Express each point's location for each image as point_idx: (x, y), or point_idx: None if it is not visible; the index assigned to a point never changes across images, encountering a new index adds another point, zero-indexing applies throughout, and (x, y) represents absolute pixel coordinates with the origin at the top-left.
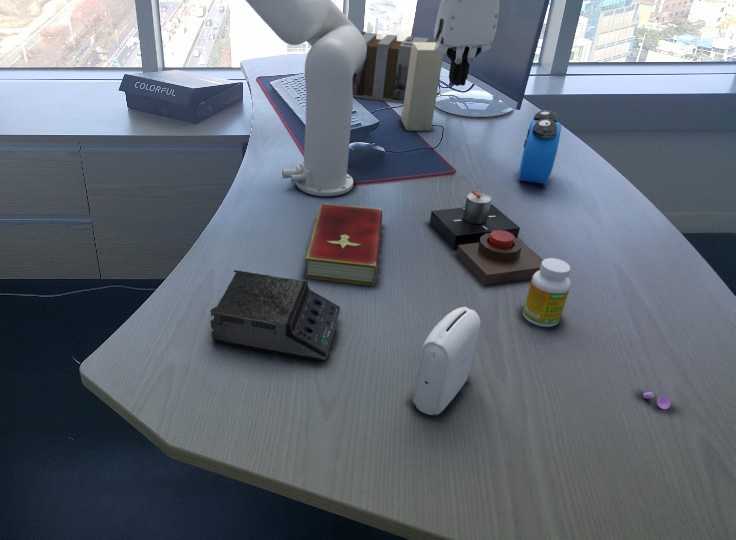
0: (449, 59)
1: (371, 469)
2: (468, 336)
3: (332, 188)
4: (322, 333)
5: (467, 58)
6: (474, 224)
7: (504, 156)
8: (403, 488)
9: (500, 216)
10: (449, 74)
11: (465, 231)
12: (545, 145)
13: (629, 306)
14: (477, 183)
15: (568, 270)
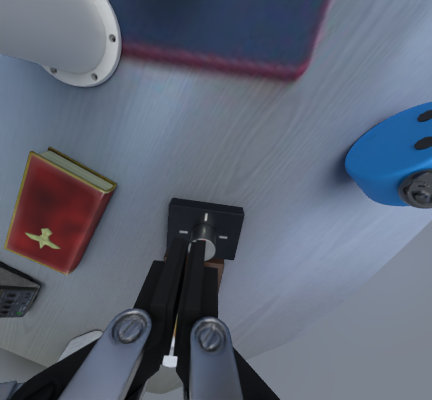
0: (119, 317)
1: (43, 355)
2: None
3: (75, 73)
4: (18, 309)
5: (183, 388)
6: None
7: (428, 46)
8: (54, 362)
9: (232, 238)
10: (151, 269)
11: None
12: (392, 196)
13: (240, 324)
14: (298, 126)
15: (174, 366)
